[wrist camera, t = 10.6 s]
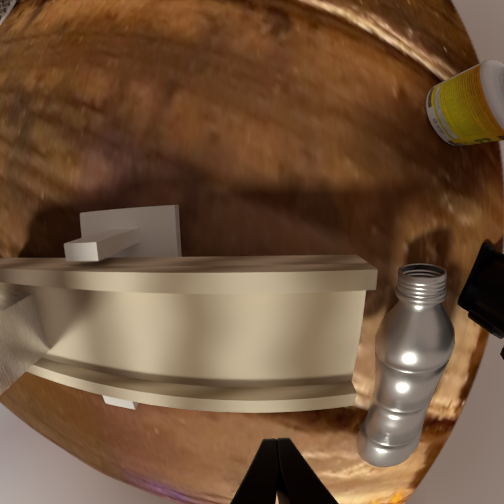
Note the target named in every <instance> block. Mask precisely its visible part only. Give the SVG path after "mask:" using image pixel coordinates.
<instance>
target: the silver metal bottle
mask: <svg viewBox="0 0 504 504" xmlns="http://www.w3.org/2000/svg"><path fill="white" fill-rule="evenodd" d="M446 283H447V271H446V269H444V268H443V267H440V266H437V265H433V264H425V263H414V264H407V265H403V266H401V267H400V268H399V269H398V281H397V286H396V296H397V298H399V301H398V302H397V303H396V304H395V306H394V307H393V308H392V309H391V310H390V311H389V312H388V314H387V315H386V316H385V318H384V319H383V320H382V322H381V324H380V326H379V328H378V331H377V333H376V336H375V368H376V376H375V384H374V392H373V399H372V402H371V405H370V408H369V411H368V413H367V416H366V418H365V420H364V421H363V423H362V425H361V428H360V430H359V432H358V434H357V450H358V453H359V455H360V457H361V458H362V459H363V460H364V461H366V462H367V463H369V464H371V465H373V466H377V467H390V466H395V465H398V464H400V463H402V462H404V461H405V460H406V459H407V458H408V457H409V456H410V455H411V454H412V453H413V452H414V450H415V449H416V448H417V446H418V444H419V440H420V437H421V432H422V425H423V422H424V419H425V415H426V412H427V408H428V405H429V403H430V401H431V398H432V396H433V394H434V391H435V389H436V386H437V384H438V382H439V380H440V378H441V376H442V374H443V372H444V370H445V368H446V365H447V363H448V361H449V358H450V357H451V354H452V351H453V348H454V345H455V334H454V327H453V325H452V322H451V320H450V317H449V315H448V313H447V312H446V310H445V308H444V306H443V304H442V302H443V301H444V300H445V299H446V297H447V289H446Z"/></svg>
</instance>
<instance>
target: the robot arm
mask: <svg viewBox="0 0 504 504" xmlns="http://www.w3.org/2000/svg"><path fill="white" fill-rule="evenodd" d="M462 301H463V302H462ZM458 305H459V306H460V307H462V308H463V309H465V310H467V311H468V312H469V313H468V317H469V318H470V319H471V320H473V321H474V322H476V323H477V324H479V325H480V326H481V327H483V328H484V329H486V330H487V331H488V332H490V333H491V334H493V335H494V336H496V337H498V338H500V339H502V338H504V254H502V253H499V252H497V251H496V250H495V249H494V248H493V247H492V246H491V245H490V244H488V243H484V244H483V245H482V248H481V250H480V253H479V255H478V258H477V260H476V263H475V265H474V268H473V270H472V272H471V274H470V277H469V279H468V281H467V283H466V285H465V288H464V290H463V292H462V294H461V296H460V298H459V300H458ZM500 355H501V356H502V358H503V359H504V347H503V348H502V351H501V353H500ZM276 494H277V496H278V502H279V504H339V503H338V502H337V501H336V500H335V499H334V497H333V496H332V495H331V493H330V492H329V491H328V490H327V488H326V487H325V486H324V485H323V483H322V482H321V481H320V479H319V478H318V477H317V475H316V474H315V473H314V471H313V470H312V469H311V467H310V466H309V465H308V463H307V462H306V460H305V459H304V458H303V456H302V455H301V453H300V452H299V451H298V449H297V448H296V446H295V445H294V444H293V442H292V441H291V439H290V438H278V439H277V440H276V439H274V438H272V439H263V441H262V443H261V445H260V447H259V449H258V451H257V453H256V455H255V457H254V459H253V461H252V463H251V465H250V467H249V469H248V471H247V473H246V475H245V477H244V479H243V481H242V483H241V485H240V487H239V489H238V490H237V492H236V494H235V496H234V498H233V500H232V501H231V503H230V504H275V502H276Z"/></svg>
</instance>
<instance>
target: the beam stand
mask: <svg viewBox="0 0 504 504" xmlns="http://www.w3.org/2000/svg"><path fill="white" fill-rule="evenodd" d="M80 225H81V236H82V238H80V239H76V240H73V241H70V242H67V243H64V249H65V257H66V261H100V260H102V259H104V258H110V257H182V252H181V237H180V219H179V205H164V206H149V207H135V208H123V209H111V210H100V211H90V212H83V213H80ZM102 396H103V398H104V401H105V403H107V404H111V405H116V406H120V407H125V408H130V409H136V407H137V405H138V402H133V401H128V400H123V399H118V398H113V397H109V396H104V395H102Z"/></svg>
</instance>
